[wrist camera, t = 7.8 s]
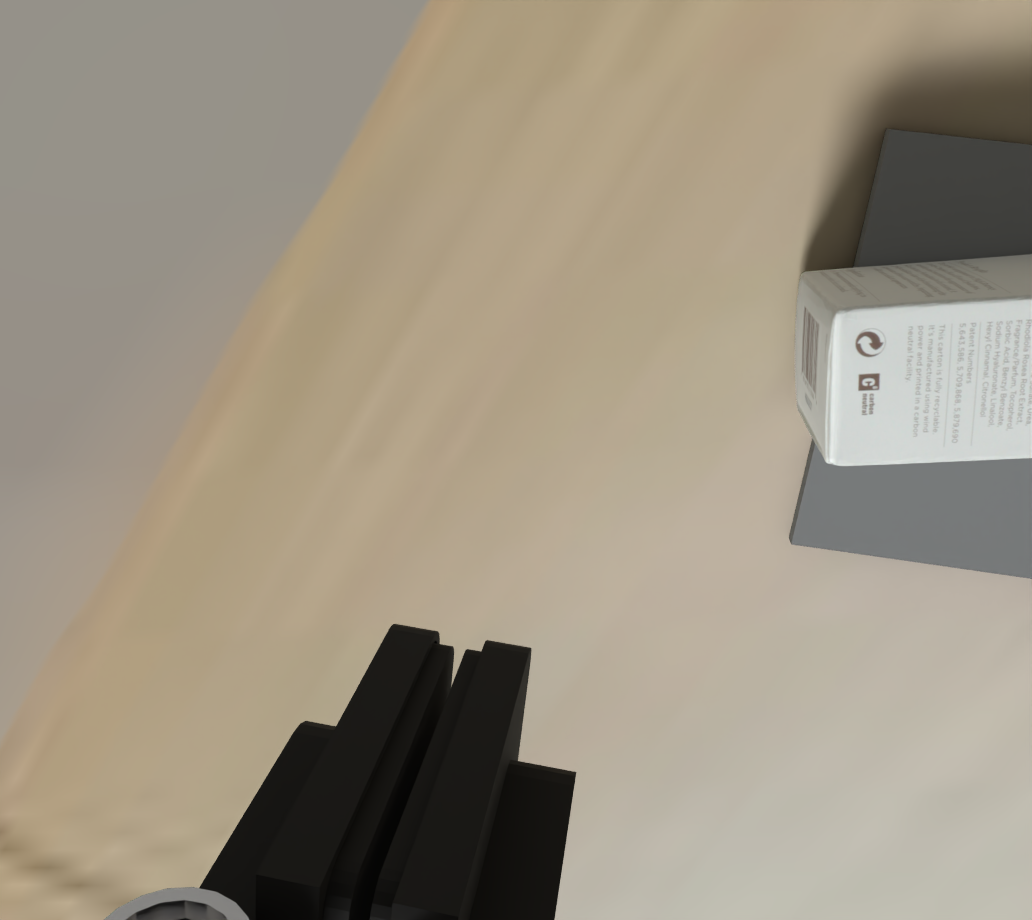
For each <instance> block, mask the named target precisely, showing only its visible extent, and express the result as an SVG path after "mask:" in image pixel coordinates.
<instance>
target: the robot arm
mask: <svg viewBox="0 0 1032 920" xmlns="http://www.w3.org/2000/svg"><path fill="white" fill-rule="evenodd" d="M439 643H440V638H439V633H438V631H432V630H426V629H421V628H415V627H409V626H404V625H398V624H393V625H392V626H391V627H390V629H389V631H388V632H387V634H386V636H385V638H384V640H383V642H382V643H381V645H380V647H379V649H378V651H377V653H376V654H375V656H374V658H373V660H372V662H371V664H370V665H369V667H368V669H367V671H366V673H365V675H364V676H363V678H362V680H361V682H360V684H359V686H358V687H357V689H356V691H355V693H354V695H353V697H352V698H351V700H350V702H349V704H348V706H347V708H346V710H345V711H344V713H343V715H342V717H341V719H340V721H339V722H338V724H337V726H336V727H335V726H330V725H325V724H320V723H314V722H309V721H305V722H303V723H301V724H300V725H299V726H298V727H297V729H296V730H295V731H294V733H293V734H292V736H291V738H290V739H289V741H288V743H287V744H286V746H285V748H284V749H283V751H282V752H281V754H280V756H279V757H278V759H277V761H276V762H275V764H274V766H273V767H272V769H271V771H270V772H269V774H268V776H267V777H266V779H265V780H264V782H263V784H262V785H261V787H260V789H259V790H258V792H257V794H256V795H255V797H254V799H253V800H252V802H251V804H250V805H249V807H248V808H247V810H246V812H245V813H244V815H243V817H242V818H241V820H240V822H239V823H238V825H237V827H236V828H235V830H234V832H233V833H232V835H231V836H230V838H229V840H228V841H227V843H226V845H225V846H224V848H223V850H222V851H221V853H220V855H219V856H218V858H217V860H216V861H215V863H214V864H213V866H212V868H211V869H210V871H209V873H208V874H207V876H206V878H205V879H204V881H203V883H202V884H201V886H200V888H195V887H185V888H167V889H163V890H160V891H156V892H153V893H149V894H146V895H142V896H140V897H138V898H136V899H134V900H132V901H130V902H128V903H127V904H125V905H123V906H121V907H119V908H117V909H116V910H115V911H113V912H112V913H111V914H110V915H109V916H108V917H106V918H105V919H104V920H554V918H555V911H556V905H557V898H558V891H559V885H560V878H561V871H562V864H563V858H564V851H565V844H566V837H567V831H568V824H569V817H570V810H571V804H572V797H573V790H574V784H575V777H576V772H572V771H567V770H562V769H557V768H551V767H546V766H541V765H536V764H530V763H525V762H520V761H518V755H519V747H520V739H521V731H522V723H523V715H524V708H525V700H526V692H527V684H528V676H529V669H530V660H531V648H528V647H523V646H517V645H511V644H506V643H500V642H494V641H489V640H487V641H485V644H484V646H483V649H482V652H480V651H475V650H469V649H467V650H466V651H465V653H464V656H463V658H462V661H461V664H460V666H459V669H458V671H457V674H456V677H455V679H454V682H453V684H452V687H451V682H452V671H453V660H454V648H453V647H452V646H447V645H441V644H439Z"/></svg>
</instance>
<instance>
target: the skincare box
mask: <svg viewBox="0 0 1032 920" xmlns="http://www.w3.org/2000/svg"><path fill="white" fill-rule="evenodd" d="M795 387H796V400H797V409H798V411H799V413H800V415H801V417H802V419H803V421H804V423H805V425H806V427H807V429H808V431H809V433H810V435H811V437H812V438H813V440H814V442H815V444H816V445H817V447H818V449H819V451H820V452H821V454H822V456H823V457H824V460H825V462H826V463H829V464H833V465H837V466H861V465H888V464H910V463H934V462H954V461H977V460H999V459H1020V458H1032V254H1027V255H1014V256H1001V257H988V258H976V259H963V260H950V261H936V262H922V263H908V264H897V265H883V266H869V267H855V268H842V269H830V270H818V271H806V272H803V273H802V274H801V277H800V281H799V288H798V297H797V309H796V323H795Z"/></svg>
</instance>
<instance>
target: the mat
mask: <svg viewBox="0 0 1032 920" xmlns="http://www.w3.org/2000/svg"><path fill="white" fill-rule="evenodd" d="M1027 254H1032V145H1030V144H1021V143H1012V142H1003V141H994V140H985V139H976V138H967V137H958V136H949V135H940V134H931V133H922V132H913V131H904V130H895V129H886V131H885V136H884V140H883V144H882V148H881V152H880V157H879V161H878V165H877V169H876V173H875V178H874V182H873V186H872V190H871V194H870V199H869V203H868V207H867V211H866V216H865V220H864V224H863V228H862V232H861V237H860V241H859V245H858V249H857V253H856V258H855V262H854V266H853V268H855V267H869V266H883V265H897V264H908V263H922V262H936V261H950V260H963V259H976V258H988V257H1001V256H1014V255H1027ZM789 539H790V542H791V544H793V545H800V546H807V547H814V548H821V549H828V550H835V551H842V552H849V553H856V554H863V555H870V556H877V557H884V558H891V559H898V560H905V561H912V562H919V563H926V564H933V565H940V566H947V567H953V568H960V569H967V570H974V571H981V572H988V573H995V574H1002V575H1009V576H1016V577H1023V578H1030V579H1032V458H1020V459H999V460H977V461H954V462H934V463H910V464H888V465H861V466H837V465H833V464H829V463H826V462H825V460H824V457H823V456H822V454H821V452H820V451H819V449H818V447H817V445H816V444H815V442H814V440H813V439H812V443H811V447H810V451H809V455H808V460H807V464H806V468H805V472H804V477H803V481H802V485H801V489H800V493H799V498H798V502H797V506H796V510H795V514H794V519H793V523H792V527H791V531H790V535H789Z"/></svg>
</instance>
